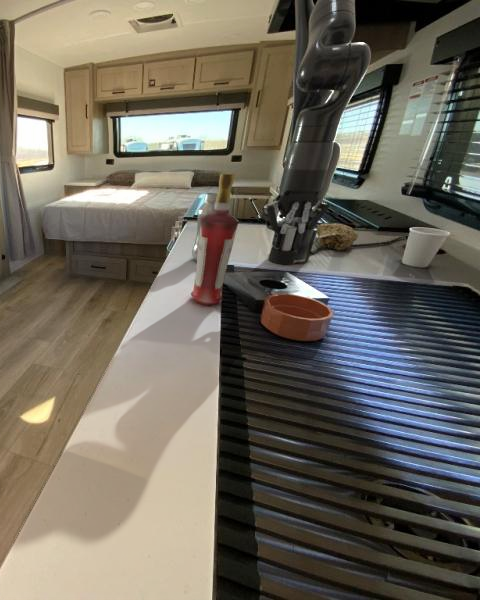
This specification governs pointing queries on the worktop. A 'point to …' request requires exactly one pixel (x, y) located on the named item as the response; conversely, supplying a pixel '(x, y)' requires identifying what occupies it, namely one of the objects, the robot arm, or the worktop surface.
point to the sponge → (336, 235)
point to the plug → (284, 249)
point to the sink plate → (268, 287)
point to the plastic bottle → (203, 211)
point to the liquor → (215, 246)
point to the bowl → (296, 317)
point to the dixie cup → (423, 245)
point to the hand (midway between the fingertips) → (284, 248)
